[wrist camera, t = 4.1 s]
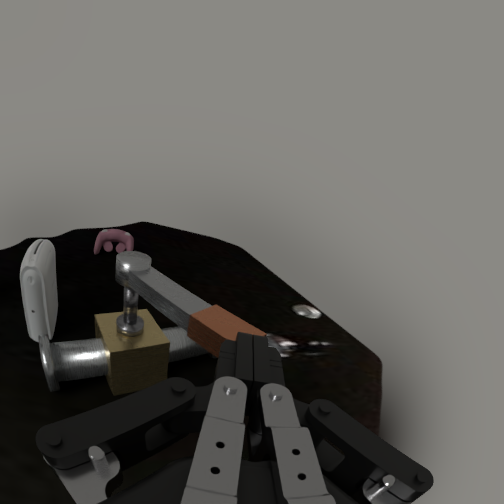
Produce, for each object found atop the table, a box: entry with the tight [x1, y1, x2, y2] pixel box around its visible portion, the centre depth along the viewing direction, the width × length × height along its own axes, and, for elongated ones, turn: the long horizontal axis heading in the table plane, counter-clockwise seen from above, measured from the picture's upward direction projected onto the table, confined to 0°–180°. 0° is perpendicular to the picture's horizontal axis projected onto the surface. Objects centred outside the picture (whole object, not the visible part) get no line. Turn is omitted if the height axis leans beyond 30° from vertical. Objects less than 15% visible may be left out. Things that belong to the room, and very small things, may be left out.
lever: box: [115, 251, 267, 358], centre depth 23 cm, size 17×4×2 cm, turn 55°
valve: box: [38, 286, 217, 396], centre depth 30 cm, size 24×7×13 cm, turn 130°
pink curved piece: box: [94, 229, 134, 255], centre depth 62 cm, size 10×5×7 cm, turn 107°
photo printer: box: [20, 239, 58, 342], centre depth 31 cm, size 10×4×12 cm, turn 28°
